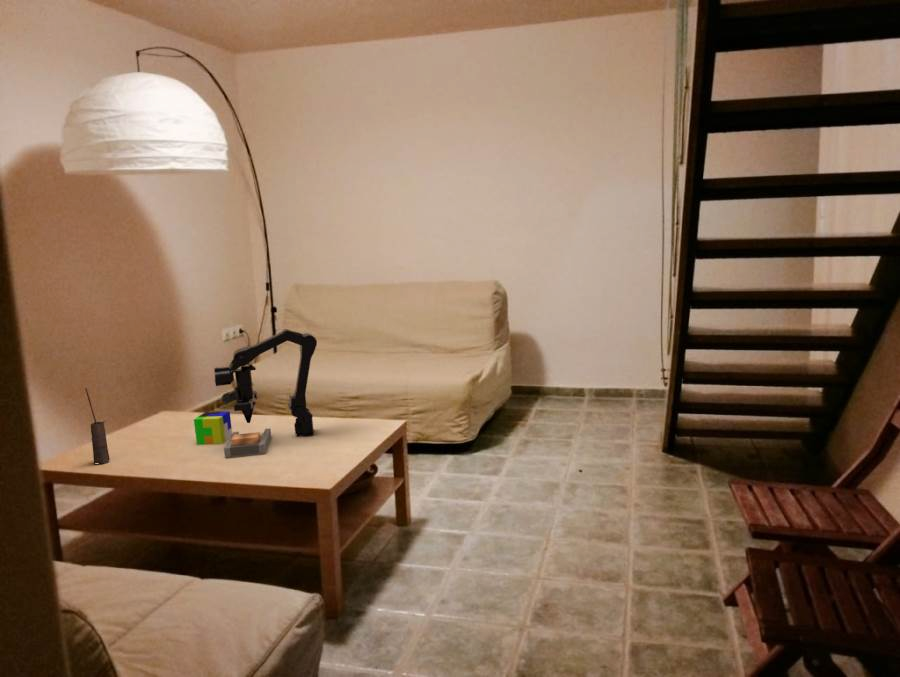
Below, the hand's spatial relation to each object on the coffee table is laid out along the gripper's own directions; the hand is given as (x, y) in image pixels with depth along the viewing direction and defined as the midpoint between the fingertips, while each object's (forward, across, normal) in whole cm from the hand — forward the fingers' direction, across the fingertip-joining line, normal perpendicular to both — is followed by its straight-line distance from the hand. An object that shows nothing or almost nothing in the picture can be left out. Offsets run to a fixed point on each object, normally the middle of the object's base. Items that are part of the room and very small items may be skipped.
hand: (248, 422), depth 262 cm
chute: (+8, +6, 0) cm, 10 cm away
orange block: (+8, +11, 0) cm, 13 cm away
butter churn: (+8, +6, -51) cm, 52 cm away
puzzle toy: (+8, -8, -15) cm, 19 cm away
